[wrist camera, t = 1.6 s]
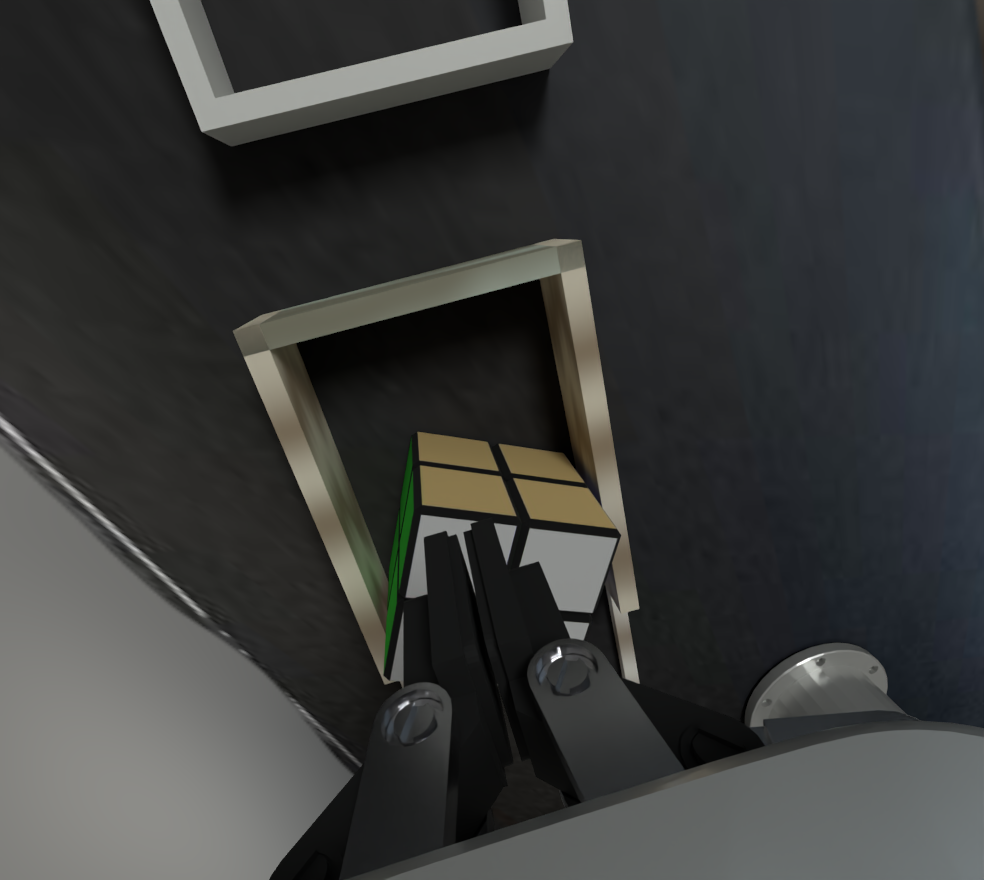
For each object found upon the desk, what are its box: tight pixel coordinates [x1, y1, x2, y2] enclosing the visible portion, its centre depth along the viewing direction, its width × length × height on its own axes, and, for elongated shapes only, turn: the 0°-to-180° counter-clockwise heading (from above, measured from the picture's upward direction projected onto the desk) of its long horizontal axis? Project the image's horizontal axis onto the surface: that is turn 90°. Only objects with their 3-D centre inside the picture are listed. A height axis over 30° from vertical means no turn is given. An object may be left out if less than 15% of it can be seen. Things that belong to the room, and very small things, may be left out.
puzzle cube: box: [383, 432, 621, 685], centre depth 30 cm, size 10×10×10 cm
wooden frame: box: [233, 239, 639, 688], centre depth 33 cm, size 35×17×5 cm, turn 13°
